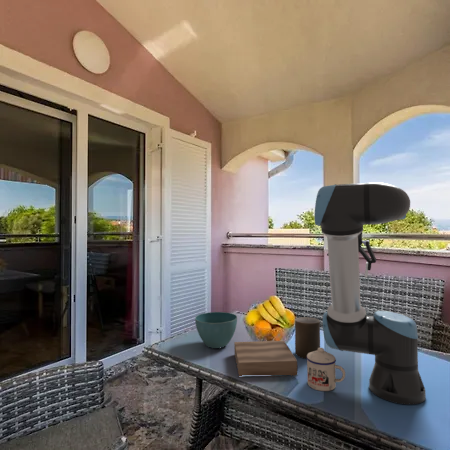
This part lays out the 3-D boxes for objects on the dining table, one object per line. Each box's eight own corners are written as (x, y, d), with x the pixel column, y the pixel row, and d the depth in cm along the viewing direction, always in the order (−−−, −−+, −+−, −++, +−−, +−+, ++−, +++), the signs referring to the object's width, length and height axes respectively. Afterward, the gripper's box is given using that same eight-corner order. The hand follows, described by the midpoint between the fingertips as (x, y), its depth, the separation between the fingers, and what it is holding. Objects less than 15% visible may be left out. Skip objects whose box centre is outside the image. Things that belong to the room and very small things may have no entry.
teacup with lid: (302, 386, 103) (301, 349, 103) (312, 376, 110) (312, 341, 110) (341, 397, 96) (340, 358, 96) (349, 385, 103) (348, 348, 104)
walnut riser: (297, 375, 111) (297, 360, 111) (238, 377, 110) (238, 362, 110) (284, 353, 131) (283, 340, 131) (234, 354, 130) (234, 342, 130)
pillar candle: (316, 361, 122) (316, 321, 123) (291, 356, 128) (291, 317, 128) (323, 353, 131) (322, 315, 131) (299, 348, 136) (299, 312, 136)
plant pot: (186, 348, 137) (186, 319, 137) (209, 336, 153) (209, 309, 153) (224, 356, 128) (224, 325, 128) (244, 342, 144) (244, 314, 144)
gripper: (386, 229, 137) (381, 275, 142) (325, 223, 149) (323, 266, 155) (384, 233, 131) (379, 282, 136) (321, 227, 143) (319, 271, 149)
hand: (349, 273), depth 146 cm, fingers open, 13 cm apart
